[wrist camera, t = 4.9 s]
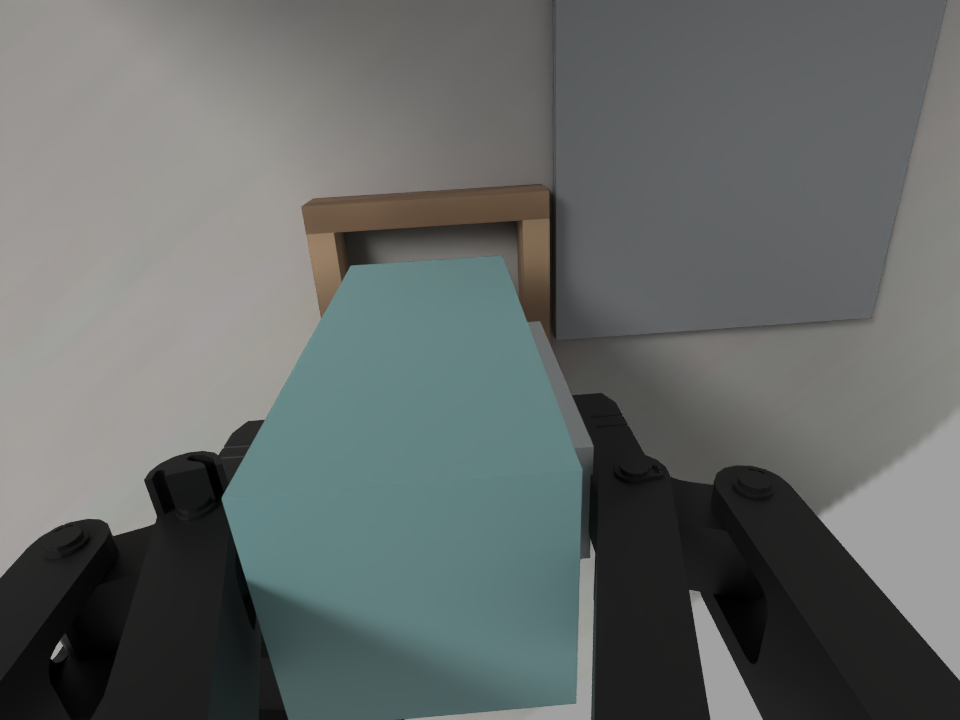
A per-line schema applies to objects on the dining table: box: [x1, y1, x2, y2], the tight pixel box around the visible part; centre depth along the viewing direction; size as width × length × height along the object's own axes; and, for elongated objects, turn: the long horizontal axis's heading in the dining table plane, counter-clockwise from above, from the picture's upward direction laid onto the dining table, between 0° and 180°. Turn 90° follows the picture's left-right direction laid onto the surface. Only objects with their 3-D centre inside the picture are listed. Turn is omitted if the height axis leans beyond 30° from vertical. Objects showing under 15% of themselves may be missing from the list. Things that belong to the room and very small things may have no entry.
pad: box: [553, 0, 947, 340], centre depth 22 cm, size 14×14×1 cm
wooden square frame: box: [302, 184, 550, 343], centre depth 23 cm, size 9×9×2 cm
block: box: [221, 255, 582, 720], centre depth 14 cm, size 5×5×12 cm
